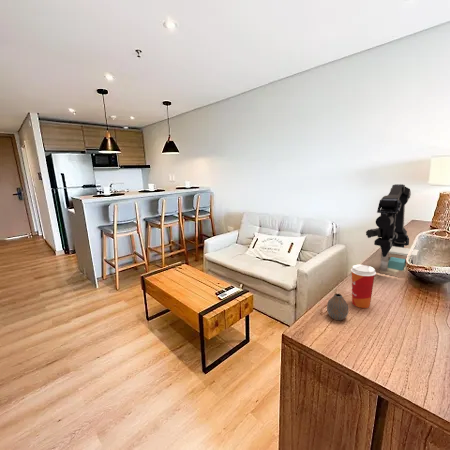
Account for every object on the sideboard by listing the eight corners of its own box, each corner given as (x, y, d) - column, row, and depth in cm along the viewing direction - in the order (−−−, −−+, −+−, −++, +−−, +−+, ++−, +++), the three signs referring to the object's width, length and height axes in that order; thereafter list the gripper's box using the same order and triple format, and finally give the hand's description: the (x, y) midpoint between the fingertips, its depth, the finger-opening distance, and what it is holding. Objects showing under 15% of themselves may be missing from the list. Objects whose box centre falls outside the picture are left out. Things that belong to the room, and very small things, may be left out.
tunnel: (385, 259, 136) (386, 245, 135) (417, 264, 127) (418, 249, 125) (381, 264, 129) (382, 250, 128) (414, 270, 120) (416, 255, 118)
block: (390, 264, 126) (391, 256, 125) (404, 266, 122) (405, 259, 121) (388, 267, 121) (388, 260, 121) (402, 270, 117) (403, 262, 117)
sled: (385, 264, 129) (387, 243, 126) (407, 268, 122) (409, 246, 120) (378, 273, 119) (380, 250, 116) (402, 277, 112) (405, 254, 110)
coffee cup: (353, 296, 100) (355, 262, 96) (376, 303, 94) (379, 267, 91) (345, 305, 94) (347, 268, 91) (369, 312, 88) (372, 274, 85)
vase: (322, 315, 88) (323, 293, 87) (336, 309, 91) (337, 288, 89) (338, 325, 82) (339, 302, 80) (352, 319, 85) (353, 296, 83)
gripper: (373, 219, 126) (371, 247, 129) (363, 226, 113) (360, 257, 116) (399, 221, 118) (396, 251, 122) (391, 229, 105) (388, 262, 109)
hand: (384, 255), depth 117 cm, fingers closed on sled, 3 cm apart
